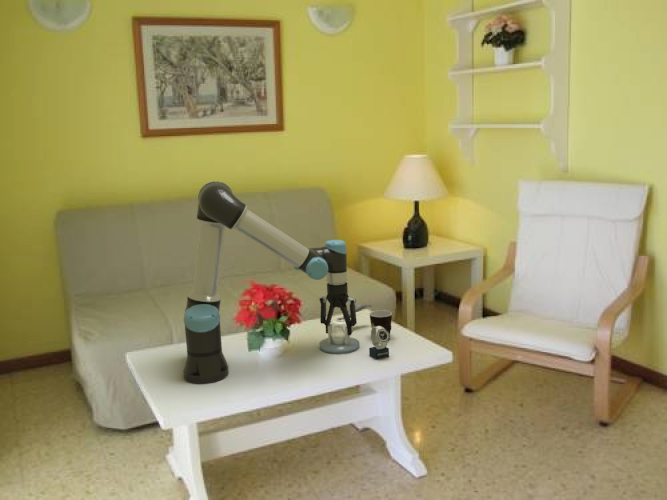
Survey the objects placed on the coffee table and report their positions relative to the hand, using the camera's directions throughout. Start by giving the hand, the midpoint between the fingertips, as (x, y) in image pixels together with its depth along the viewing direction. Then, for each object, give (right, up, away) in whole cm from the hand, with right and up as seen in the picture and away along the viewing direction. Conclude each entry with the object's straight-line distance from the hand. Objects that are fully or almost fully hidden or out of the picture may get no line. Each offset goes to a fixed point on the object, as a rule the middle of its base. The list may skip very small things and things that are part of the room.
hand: (339, 342), depth 259 cm
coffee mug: (+16, 0, +6) cm, 17 cm away
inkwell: (+5, +2, +20) cm, 21 cm away
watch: (+14, -4, -10) cm, 18 cm away
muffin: (0, -1, 0) cm, 0 cm away
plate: (0, -2, 0) cm, 2 cm away
